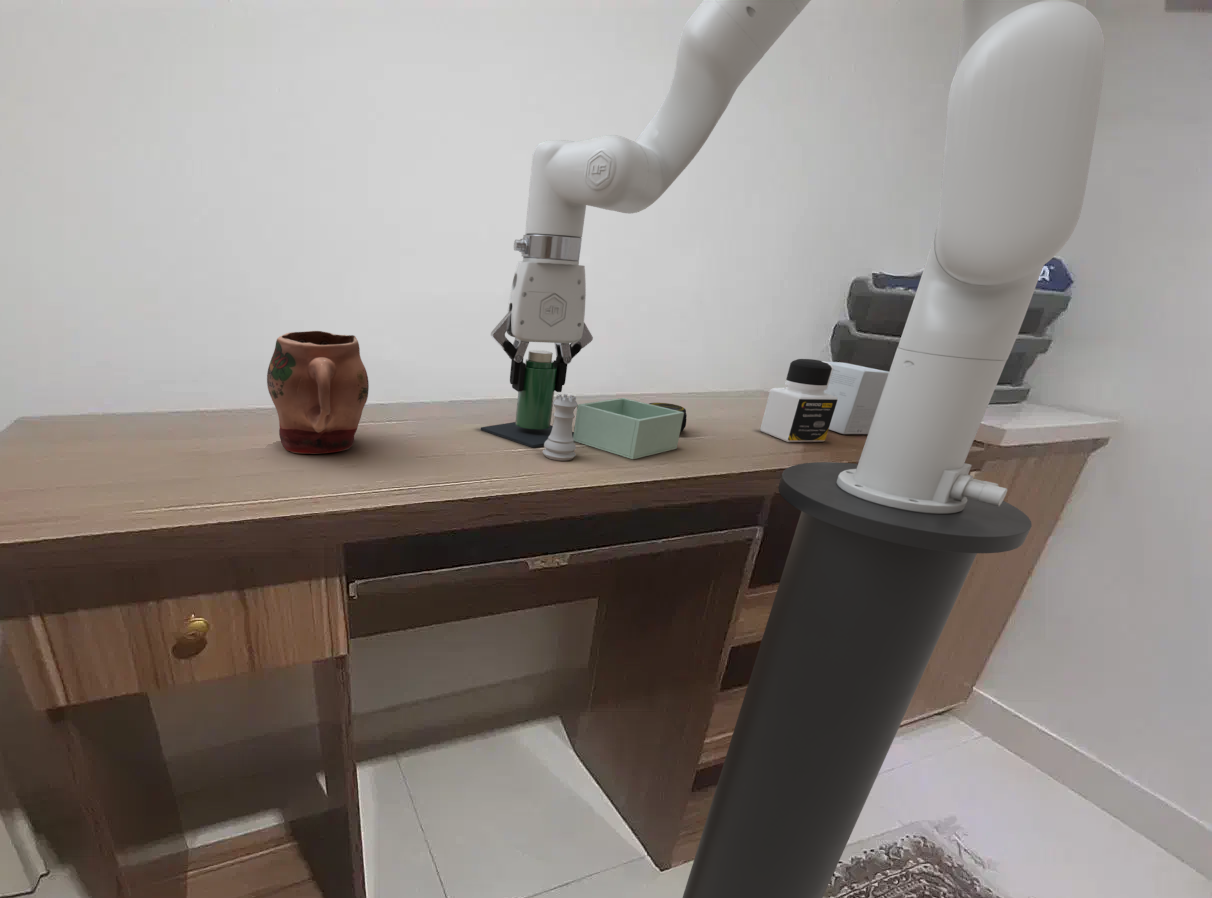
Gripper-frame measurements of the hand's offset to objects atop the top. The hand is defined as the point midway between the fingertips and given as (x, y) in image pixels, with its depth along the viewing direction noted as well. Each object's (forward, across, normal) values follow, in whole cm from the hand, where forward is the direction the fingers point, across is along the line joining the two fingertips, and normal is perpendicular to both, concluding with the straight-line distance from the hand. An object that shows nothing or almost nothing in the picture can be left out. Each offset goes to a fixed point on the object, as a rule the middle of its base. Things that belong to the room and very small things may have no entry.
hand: (536, 388), depth 94 cm
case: (+7, +12, -6) cm, 15 cm away
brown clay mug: (+7, -31, -7) cm, 33 cm away
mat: (+7, 0, 0) cm, 7 cm away
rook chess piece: (+7, 0, -12) cm, 13 cm away
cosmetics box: (+7, +58, +4) cm, 58 cm away
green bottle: (+5, 0, 0) cm, 5 cm away
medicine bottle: (+7, +44, -2) cm, 44 cm away
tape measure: (+7, +23, +2) cm, 24 cm away
